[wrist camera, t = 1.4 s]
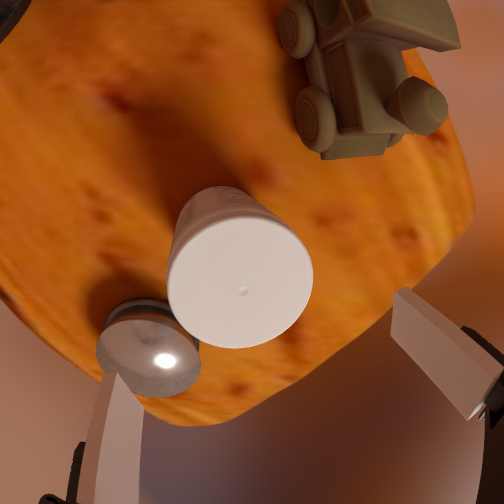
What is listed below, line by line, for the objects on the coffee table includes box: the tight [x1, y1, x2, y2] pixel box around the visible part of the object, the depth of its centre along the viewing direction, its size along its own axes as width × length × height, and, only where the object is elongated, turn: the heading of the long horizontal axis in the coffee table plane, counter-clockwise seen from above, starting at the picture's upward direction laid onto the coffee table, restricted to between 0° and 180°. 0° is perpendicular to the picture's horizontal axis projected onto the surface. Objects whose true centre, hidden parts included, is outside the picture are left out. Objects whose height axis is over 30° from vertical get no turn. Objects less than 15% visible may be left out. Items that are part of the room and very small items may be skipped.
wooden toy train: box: [278, 0, 461, 160], centre depth 18 cm, size 20×11×17 cm, turn 9°
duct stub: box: [96, 297, 200, 397], centre depth 31 cm, size 13×13×5 cm
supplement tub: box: [166, 186, 313, 348], centre depth 23 cm, size 10×10×15 cm
